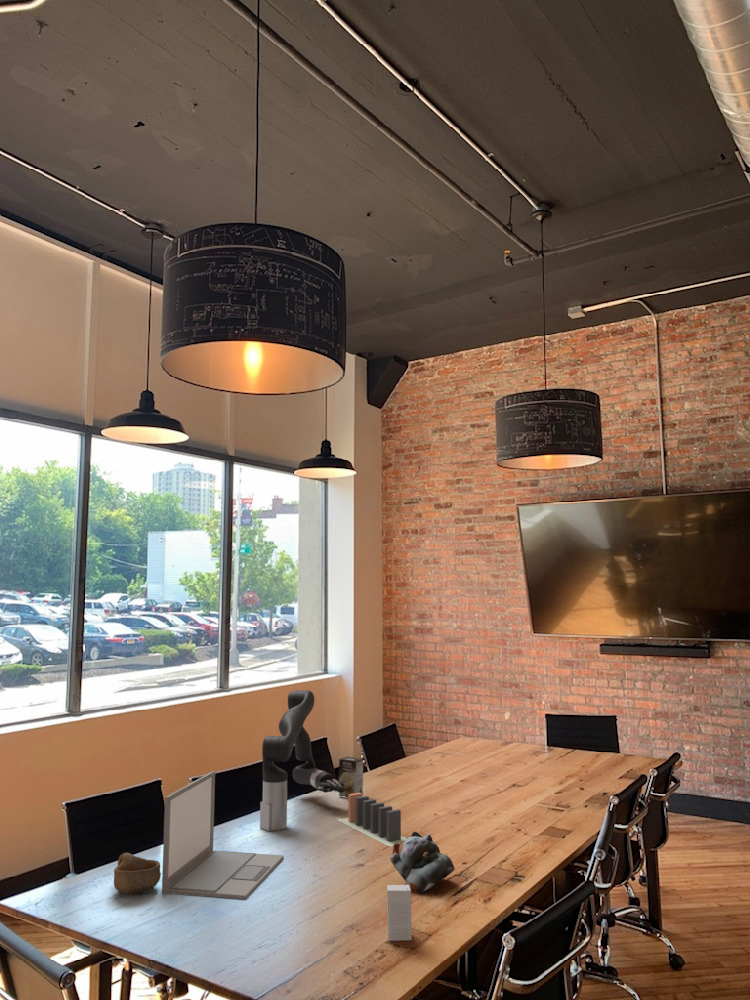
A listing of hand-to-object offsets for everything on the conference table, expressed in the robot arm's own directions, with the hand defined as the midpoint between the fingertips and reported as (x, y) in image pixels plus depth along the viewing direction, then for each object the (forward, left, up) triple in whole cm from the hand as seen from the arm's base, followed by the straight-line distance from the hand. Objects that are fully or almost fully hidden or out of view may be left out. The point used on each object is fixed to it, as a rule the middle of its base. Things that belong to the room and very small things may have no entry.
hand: (342, 790), depth 300 cm
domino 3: (-4, -21, -9) cm, 23 cm away
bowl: (-95, -18, -10) cm, 97 cm away
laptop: (-68, -26, -10) cm, 73 cm away
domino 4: (-5, -26, -9) cm, 28 cm away
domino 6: (-7, -37, -9) cm, 39 cm away
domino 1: (-2, -10, -9) cm, 14 cm away
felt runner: (-4, -24, -10) cm, 26 cm away
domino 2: (-3, -15, -9) cm, 18 cm away
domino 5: (-6, -32, -9) cm, 34 cm away
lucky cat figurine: (-28, -73, -10) cm, 79 cm away
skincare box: (-58, -94, -10) cm, 111 cm away
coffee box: (+21, +20, -10) cm, 31 cm away
